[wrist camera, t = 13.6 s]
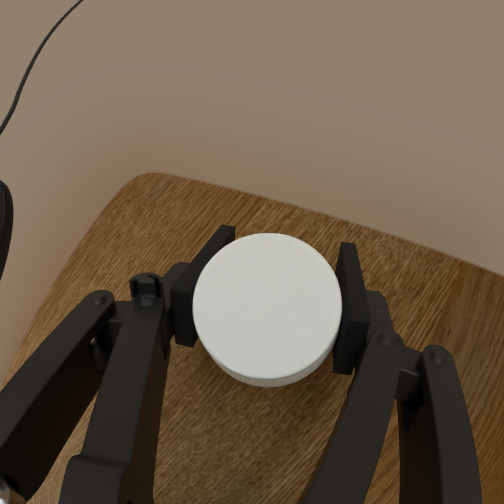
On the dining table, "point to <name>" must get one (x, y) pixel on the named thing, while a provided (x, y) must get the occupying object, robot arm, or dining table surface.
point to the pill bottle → (267, 309)
